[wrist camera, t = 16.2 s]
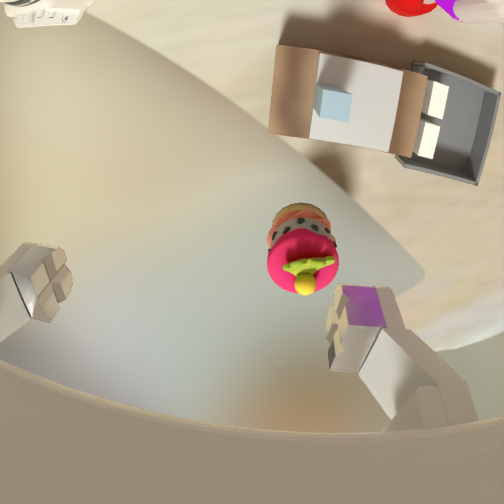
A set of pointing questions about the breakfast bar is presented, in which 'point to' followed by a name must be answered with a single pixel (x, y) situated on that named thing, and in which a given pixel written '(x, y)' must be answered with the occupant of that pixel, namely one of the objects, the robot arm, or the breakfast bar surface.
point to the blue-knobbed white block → (354, 102)
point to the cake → (301, 249)
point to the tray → (458, 127)
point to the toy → (453, 9)
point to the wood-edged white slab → (302, 88)
